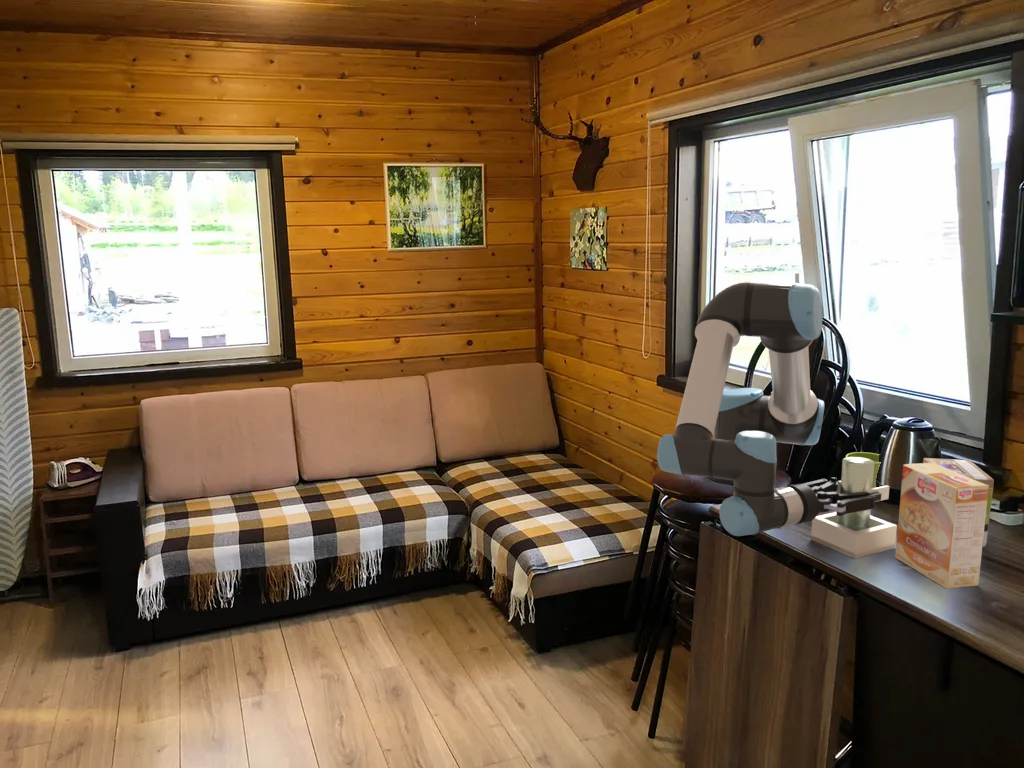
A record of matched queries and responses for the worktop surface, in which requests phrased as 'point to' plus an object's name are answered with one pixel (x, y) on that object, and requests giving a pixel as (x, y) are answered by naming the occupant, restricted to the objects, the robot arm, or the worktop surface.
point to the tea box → (974, 473)
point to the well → (854, 536)
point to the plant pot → (872, 457)
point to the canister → (856, 489)
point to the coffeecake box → (941, 524)
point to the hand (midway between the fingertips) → (873, 487)
